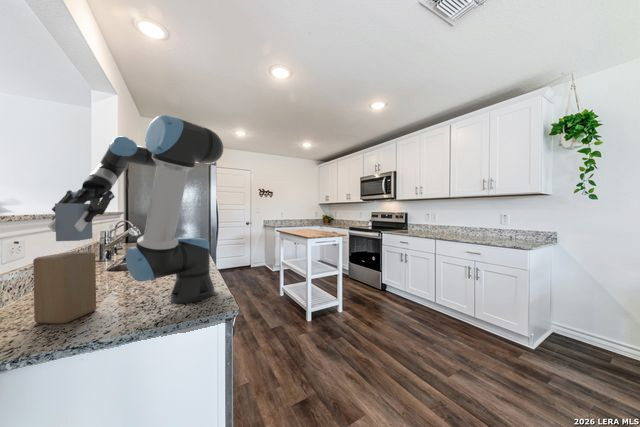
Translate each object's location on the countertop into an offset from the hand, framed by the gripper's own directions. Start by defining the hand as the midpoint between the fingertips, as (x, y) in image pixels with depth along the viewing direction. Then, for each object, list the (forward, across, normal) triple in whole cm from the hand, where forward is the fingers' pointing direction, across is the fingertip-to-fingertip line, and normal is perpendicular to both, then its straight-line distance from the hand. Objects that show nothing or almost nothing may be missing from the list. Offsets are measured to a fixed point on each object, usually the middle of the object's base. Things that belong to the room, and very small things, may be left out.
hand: (65, 228), depth 74 cm
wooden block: (+20, 0, -20) cm, 28 cm away
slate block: (0, 0, -5) cm, 5 cm away
